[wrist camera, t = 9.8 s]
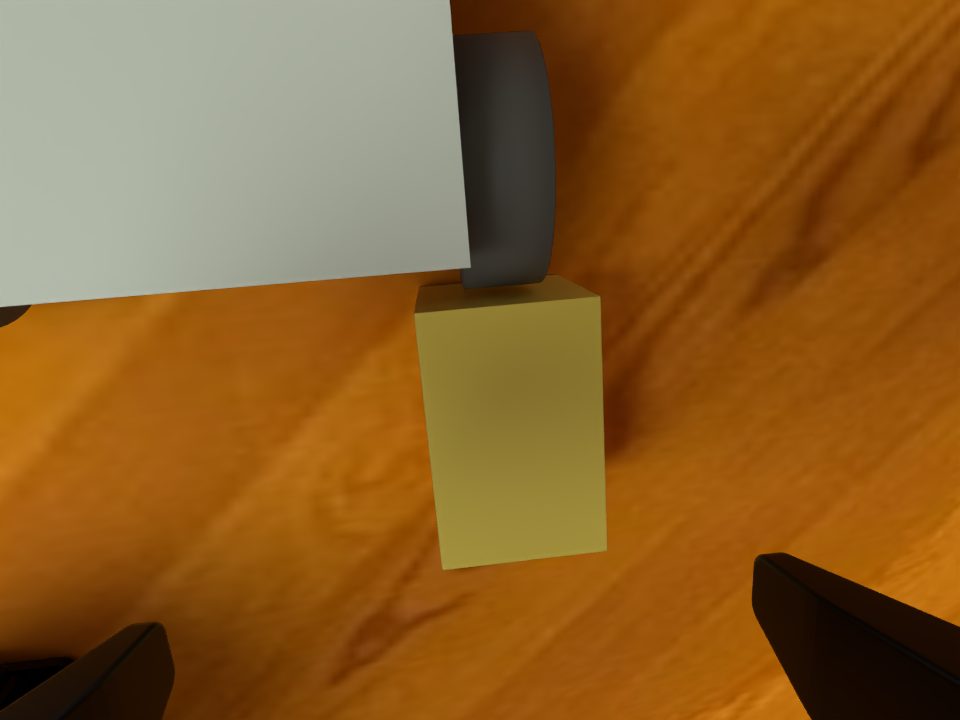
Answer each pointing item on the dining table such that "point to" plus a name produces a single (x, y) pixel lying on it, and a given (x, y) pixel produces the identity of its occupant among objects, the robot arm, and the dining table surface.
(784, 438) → the dining table surface
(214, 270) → the trolley
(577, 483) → the chock
